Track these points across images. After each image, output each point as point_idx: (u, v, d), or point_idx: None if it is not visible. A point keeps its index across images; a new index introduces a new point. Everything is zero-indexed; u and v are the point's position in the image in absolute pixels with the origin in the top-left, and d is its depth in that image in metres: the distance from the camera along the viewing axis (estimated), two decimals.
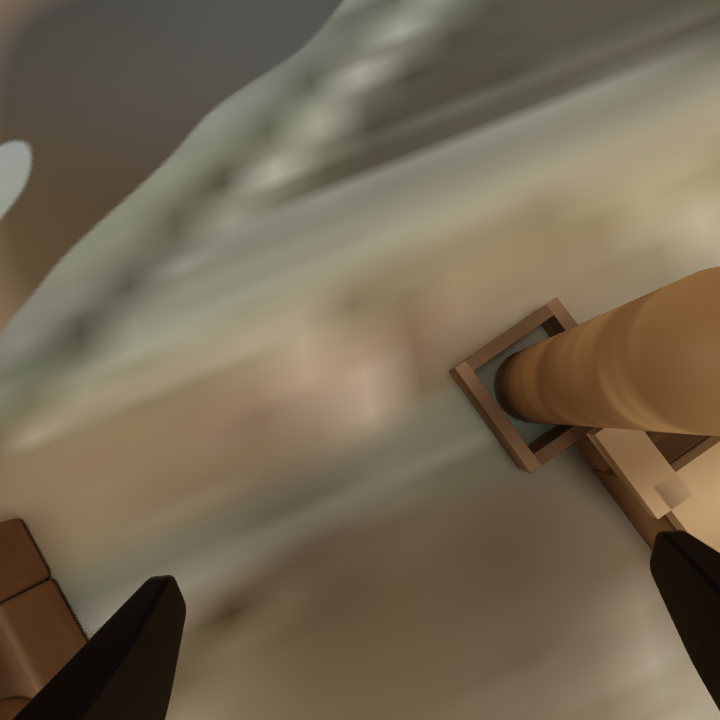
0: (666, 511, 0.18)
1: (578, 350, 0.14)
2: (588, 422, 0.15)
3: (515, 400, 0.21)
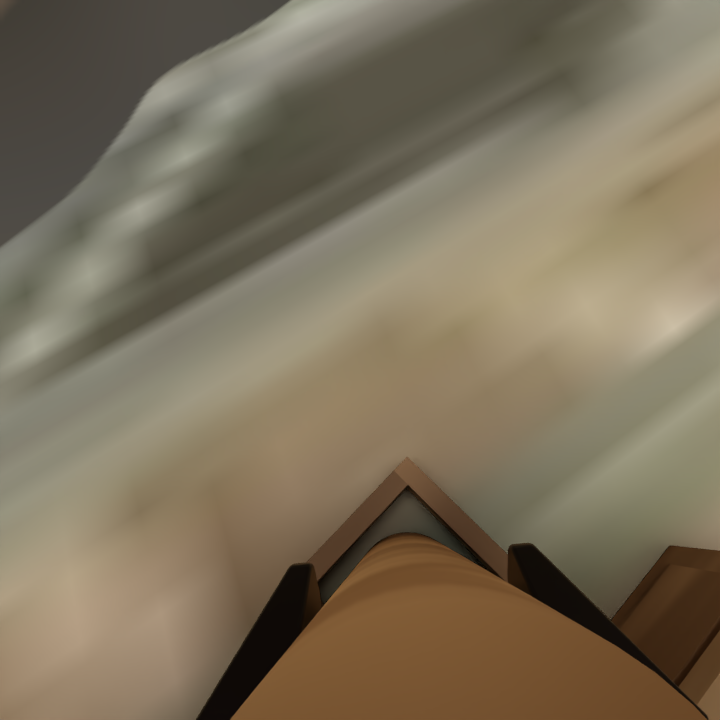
0: None
1: None
2: None
3: None
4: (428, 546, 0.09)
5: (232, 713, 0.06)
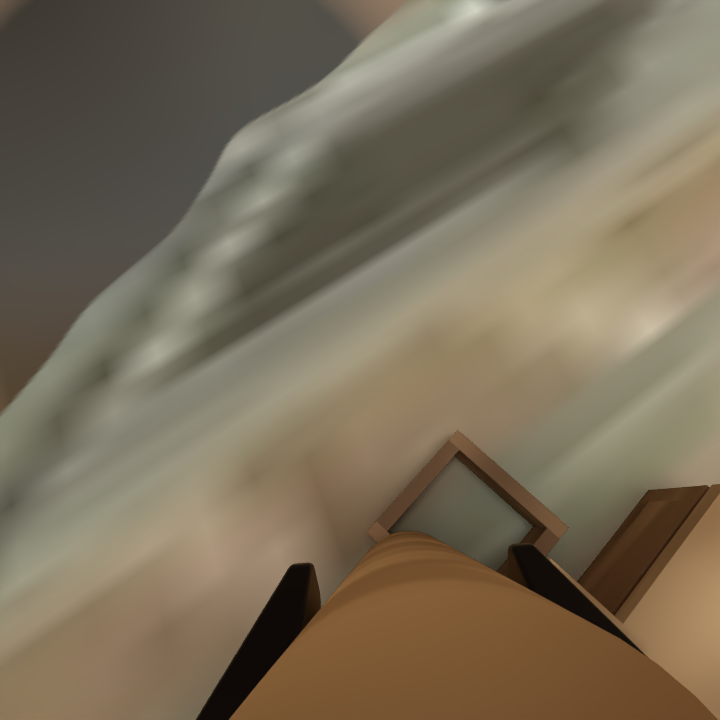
0: None
1: None
2: None
3: None
4: (429, 544, 0.09)
5: (232, 713, 0.06)
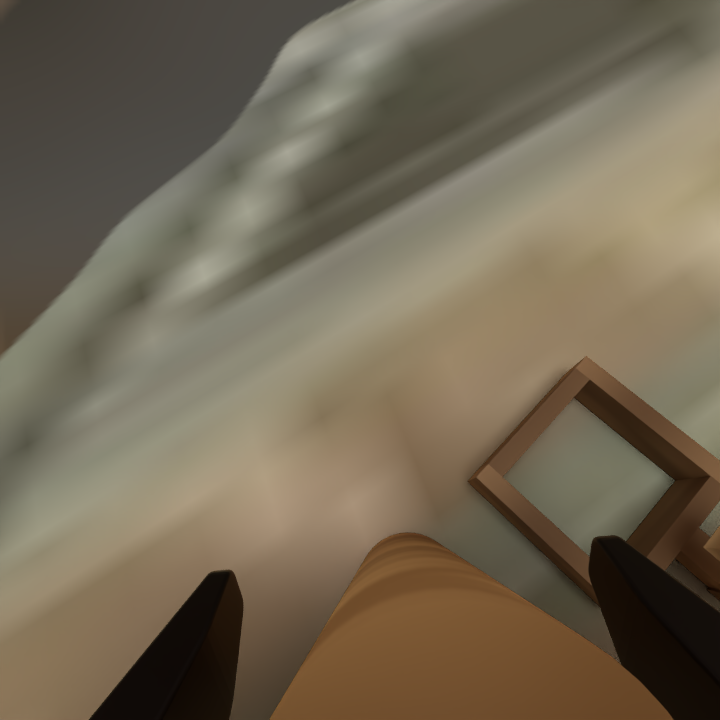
0: None
1: None
2: None
3: None
4: (430, 549, 0.09)
5: None
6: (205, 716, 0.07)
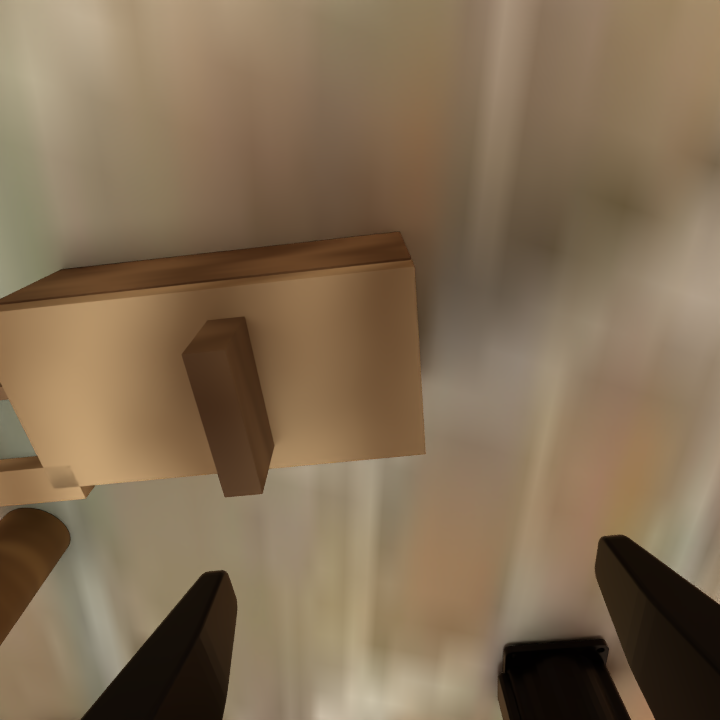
0: (79, 490, 0.18)
1: None
2: None
3: None
4: None
5: None
6: (197, 717, 0.07)
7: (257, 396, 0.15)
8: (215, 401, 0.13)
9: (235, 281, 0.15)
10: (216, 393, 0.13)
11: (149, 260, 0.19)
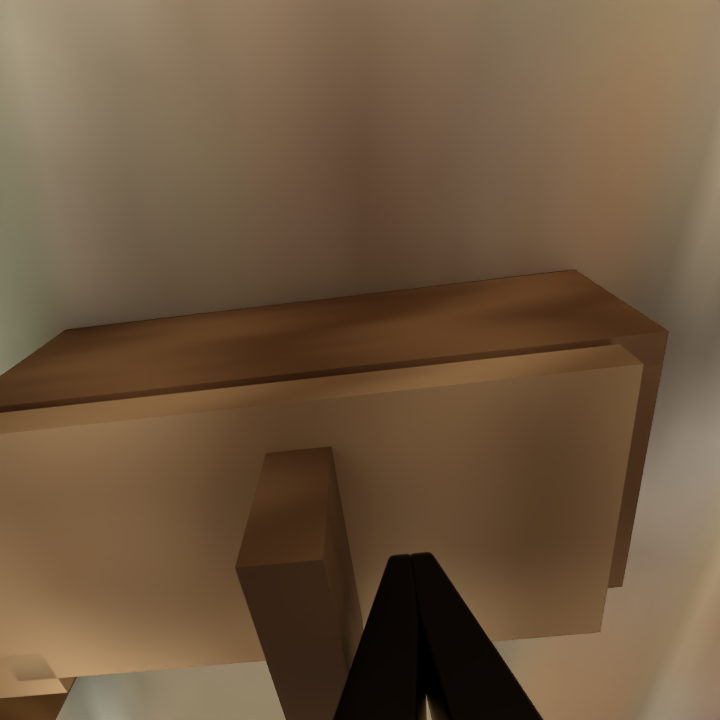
0: (57, 683, 0.12)
1: None
2: None
3: None
4: None
5: (374, 702, 0.06)
6: (422, 699, 0.07)
7: (349, 575, 0.09)
8: (295, 636, 0.07)
9: (313, 384, 0.09)
10: (298, 624, 0.07)
11: (197, 316, 0.13)
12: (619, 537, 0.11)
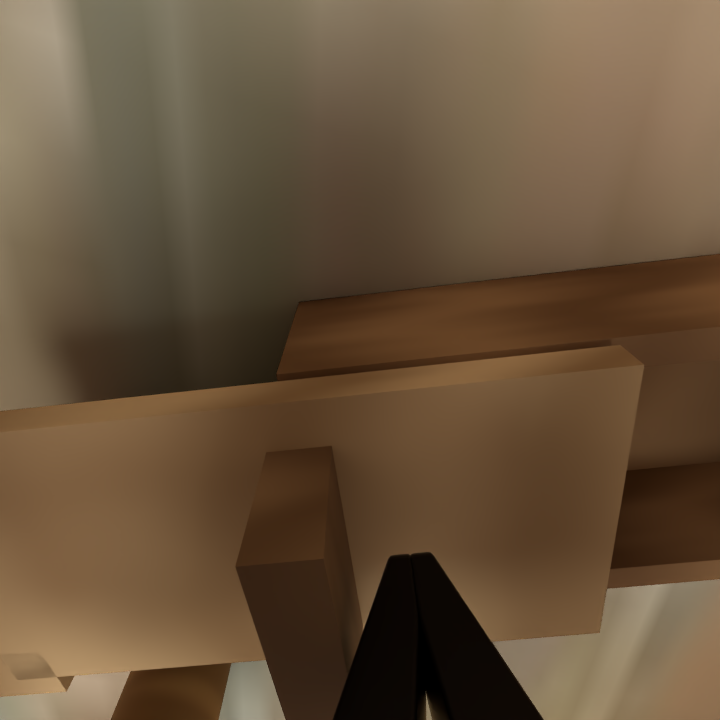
0: (56, 682, 0.12)
1: None
2: None
3: None
4: None
5: (373, 702, 0.06)
6: (422, 699, 0.07)
7: (348, 575, 0.09)
8: (295, 635, 0.07)
9: (314, 384, 0.09)
10: (298, 624, 0.07)
11: (439, 288, 0.13)
12: None
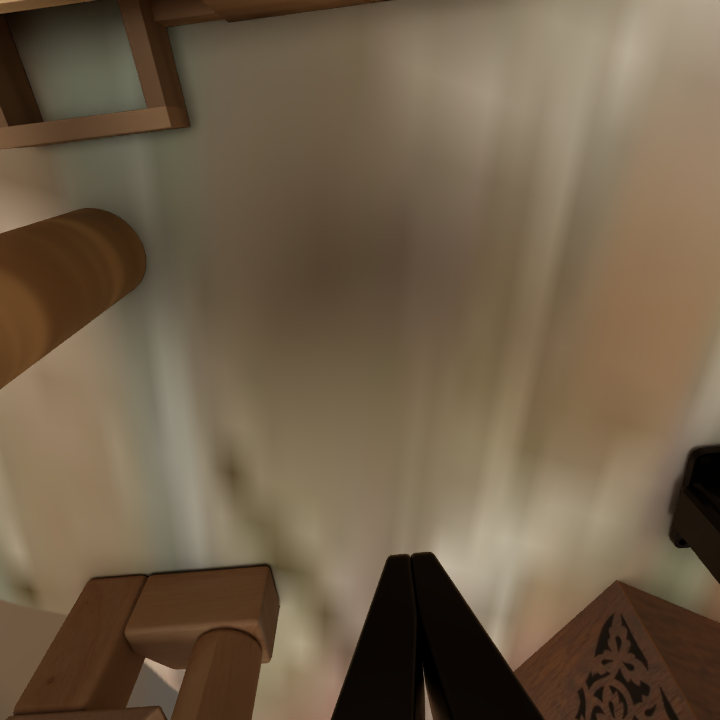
0: None
1: None
2: None
3: None
4: None
5: (372, 702, 0.06)
6: (421, 700, 0.07)
7: None
8: None
9: None
10: None
11: None
12: None
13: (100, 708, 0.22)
